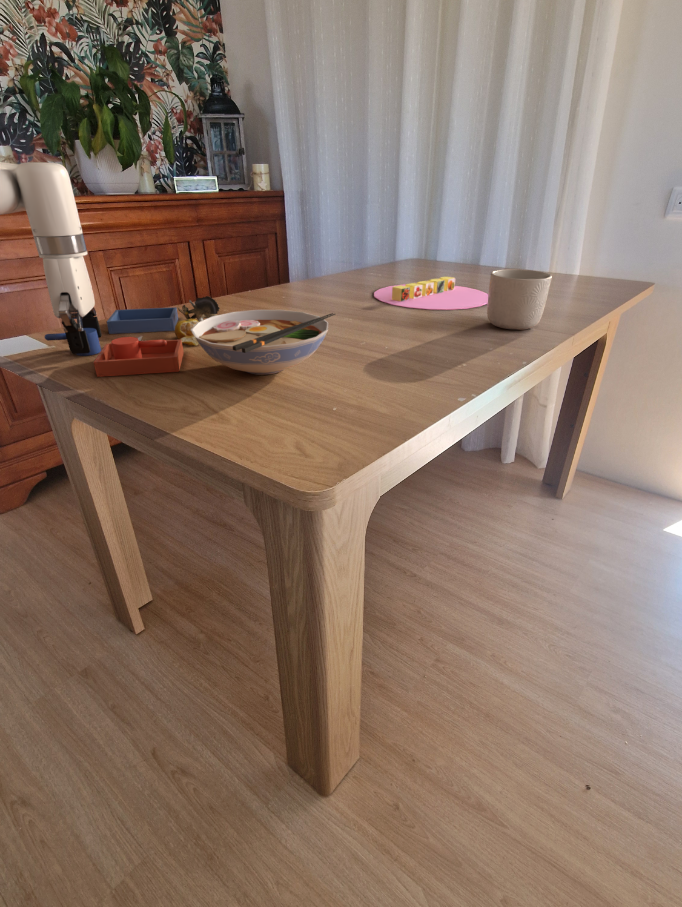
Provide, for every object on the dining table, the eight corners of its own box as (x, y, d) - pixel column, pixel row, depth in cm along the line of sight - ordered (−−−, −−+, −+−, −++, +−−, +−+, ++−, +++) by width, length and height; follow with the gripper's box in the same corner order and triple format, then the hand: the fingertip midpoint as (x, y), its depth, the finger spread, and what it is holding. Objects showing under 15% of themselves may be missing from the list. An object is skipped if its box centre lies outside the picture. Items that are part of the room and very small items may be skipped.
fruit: (187, 347, 96) (184, 328, 94) (164, 339, 101) (161, 321, 99) (222, 338, 101) (220, 320, 99) (198, 330, 106) (196, 313, 104)
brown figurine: (179, 326, 105) (220, 318, 104) (174, 293, 106) (215, 285, 105) (193, 336, 113) (231, 329, 112) (189, 306, 113) (227, 298, 112)
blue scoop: (103, 347, 96) (98, 327, 94) (98, 355, 92) (93, 333, 90) (53, 350, 94) (47, 329, 92) (46, 358, 91) (39, 336, 89)
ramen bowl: (262, 339, 101) (259, 298, 97) (357, 360, 90) (358, 314, 86) (162, 376, 83) (153, 327, 79) (267, 407, 72) (263, 353, 68)
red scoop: (114, 367, 85) (108, 345, 83) (118, 359, 89) (113, 337, 87) (168, 364, 87) (164, 342, 85) (171, 356, 90) (167, 334, 88)
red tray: (97, 376, 82) (93, 361, 81) (109, 357, 91) (106, 343, 90) (179, 371, 85) (176, 356, 83) (183, 352, 93) (181, 339, 92)
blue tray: (109, 334, 104) (106, 321, 103) (118, 321, 113) (115, 309, 111) (174, 330, 106) (172, 318, 105) (178, 318, 115) (176, 307, 114)
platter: (349, 294, 138) (349, 281, 136) (424, 279, 156) (425, 268, 154) (441, 316, 117) (442, 302, 115) (514, 296, 135) (517, 284, 134)
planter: (547, 323, 112) (558, 272, 107) (532, 336, 103) (543, 281, 98) (493, 315, 118) (501, 267, 113) (475, 327, 109) (482, 275, 104)
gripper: (52, 240, 91) (77, 333, 100) (19, 254, 76) (52, 361, 85) (96, 239, 92) (117, 331, 101) (71, 252, 78) (98, 358, 86)
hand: (87, 344), depth 93 cm, fingers open, 9 cm apart
